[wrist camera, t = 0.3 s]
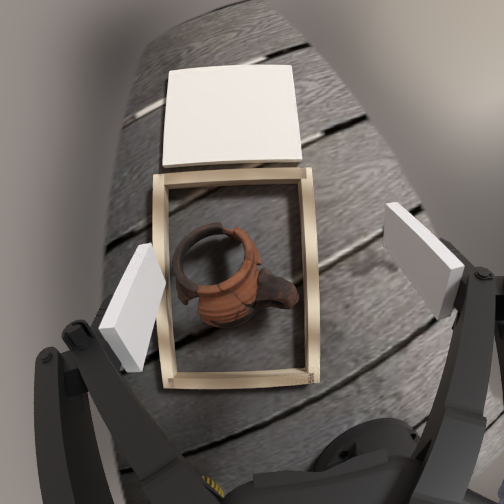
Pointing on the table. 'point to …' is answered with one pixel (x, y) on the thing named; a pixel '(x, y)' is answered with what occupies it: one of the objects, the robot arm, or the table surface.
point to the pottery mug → (232, 283)
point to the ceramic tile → (231, 116)
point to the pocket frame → (309, 278)
